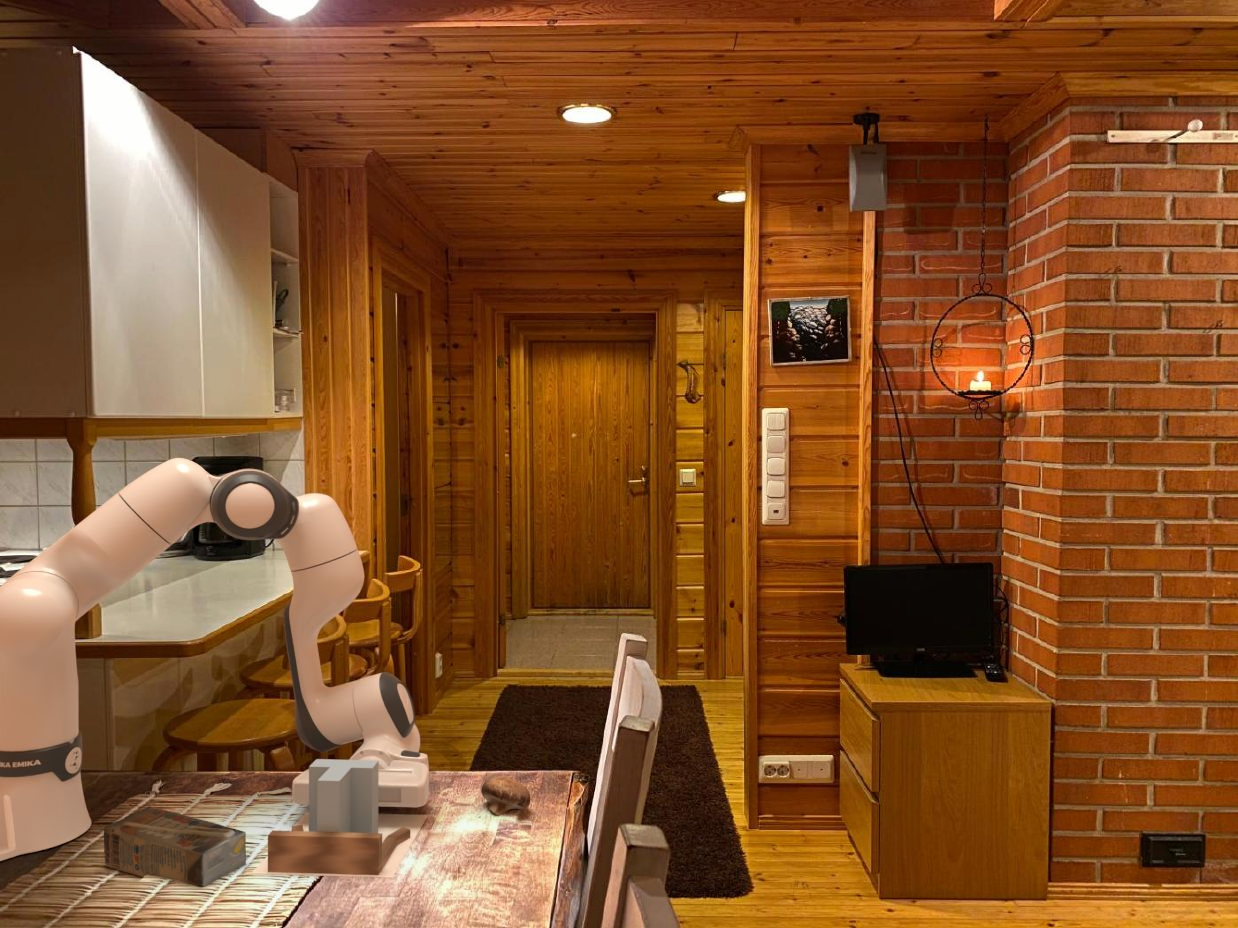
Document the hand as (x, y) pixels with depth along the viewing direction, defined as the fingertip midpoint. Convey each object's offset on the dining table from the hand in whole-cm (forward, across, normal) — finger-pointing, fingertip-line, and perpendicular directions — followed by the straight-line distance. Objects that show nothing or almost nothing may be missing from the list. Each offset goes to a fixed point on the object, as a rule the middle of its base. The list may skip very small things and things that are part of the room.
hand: (346, 807), depth 131 cm
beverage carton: (+7, -21, +6) cm, 23 cm away
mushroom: (-14, +21, +6) cm, 26 cm away
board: (0, 0, +6) cm, 6 cm away
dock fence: (+4, 0, +5) cm, 6 cm away
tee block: (+4, 0, +5) cm, 6 cm away
